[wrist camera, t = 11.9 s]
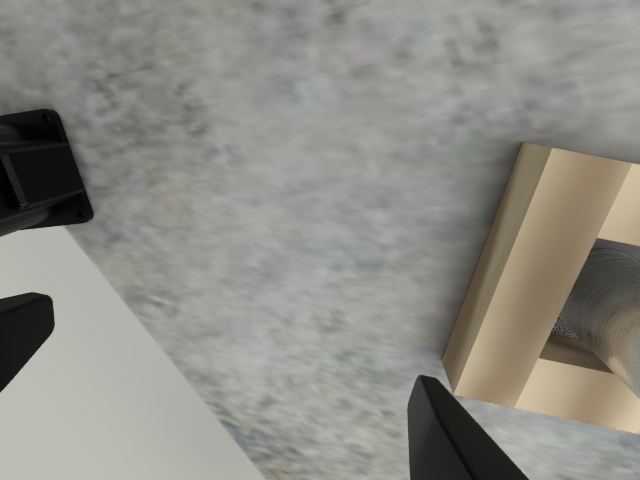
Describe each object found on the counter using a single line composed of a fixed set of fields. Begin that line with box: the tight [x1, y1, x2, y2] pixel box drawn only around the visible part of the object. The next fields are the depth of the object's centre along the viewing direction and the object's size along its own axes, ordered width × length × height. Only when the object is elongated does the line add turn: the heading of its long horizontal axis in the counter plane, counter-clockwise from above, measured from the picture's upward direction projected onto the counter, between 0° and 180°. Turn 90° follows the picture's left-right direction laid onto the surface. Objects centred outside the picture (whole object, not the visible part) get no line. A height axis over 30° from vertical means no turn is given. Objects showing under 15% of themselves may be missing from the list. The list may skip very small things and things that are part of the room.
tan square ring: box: [442, 142, 640, 434], centre depth 19 cm, size 14×14×3 cm
